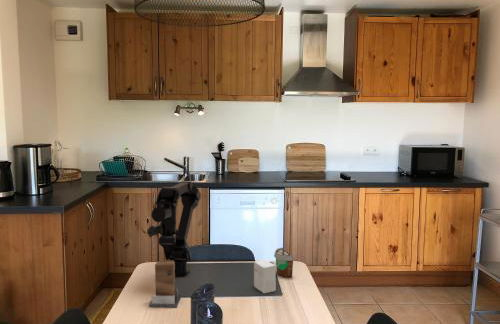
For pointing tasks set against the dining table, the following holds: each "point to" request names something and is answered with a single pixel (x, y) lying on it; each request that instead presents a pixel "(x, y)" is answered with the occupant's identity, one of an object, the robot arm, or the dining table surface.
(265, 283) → the small box
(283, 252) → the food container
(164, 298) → the hinge base
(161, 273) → the brown wooden block
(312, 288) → the dining table surface
